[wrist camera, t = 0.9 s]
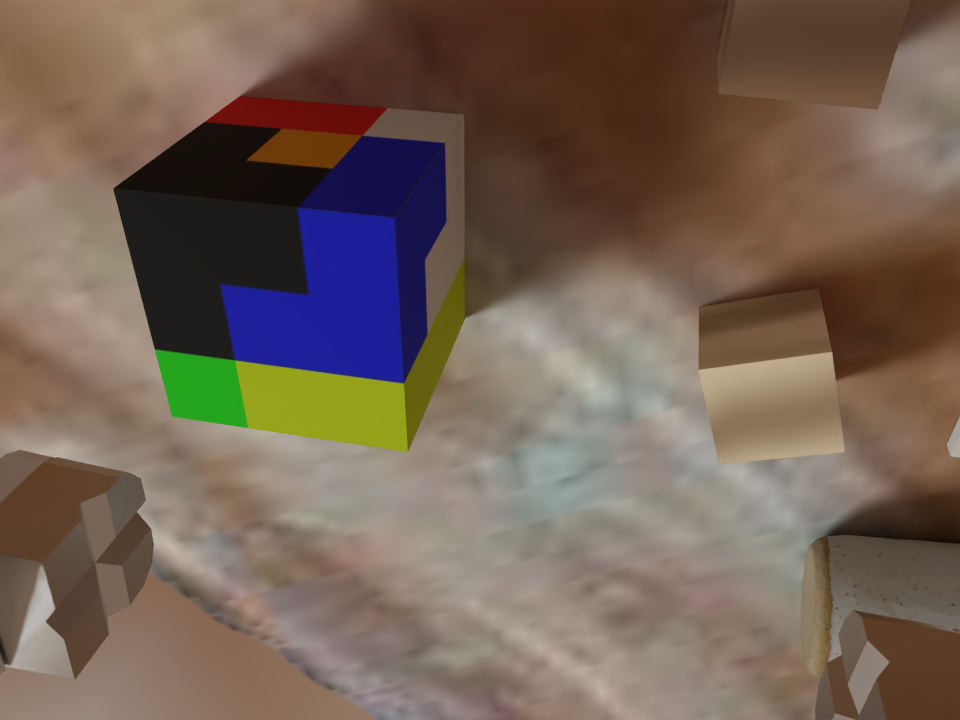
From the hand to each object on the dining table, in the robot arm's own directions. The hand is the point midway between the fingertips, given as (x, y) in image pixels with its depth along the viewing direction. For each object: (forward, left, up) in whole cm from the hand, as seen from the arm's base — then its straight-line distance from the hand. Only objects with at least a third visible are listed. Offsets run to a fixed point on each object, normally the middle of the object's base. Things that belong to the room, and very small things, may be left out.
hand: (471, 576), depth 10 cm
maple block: (+14, +8, -28) cm, 32 cm away
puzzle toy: (+10, -11, -28) cm, 31 cm away
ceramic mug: (+27, +17, -28) cm, 42 cm away
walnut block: (-1, +6, -28) cm, 28 cm away
